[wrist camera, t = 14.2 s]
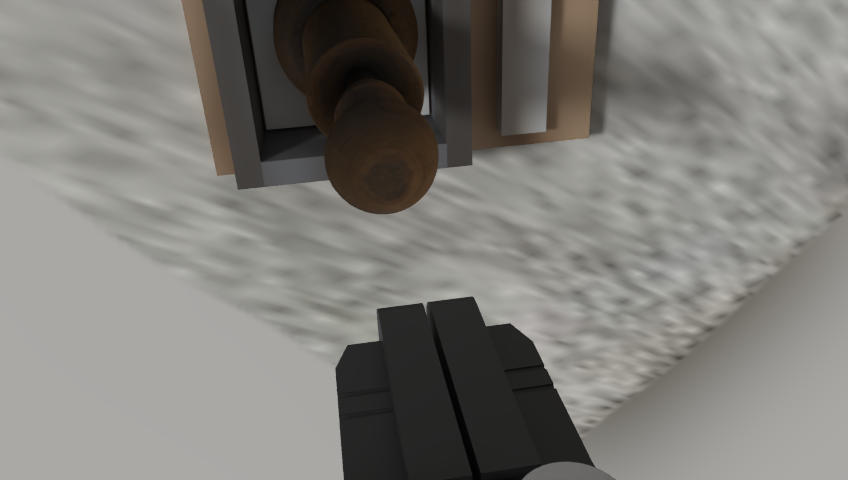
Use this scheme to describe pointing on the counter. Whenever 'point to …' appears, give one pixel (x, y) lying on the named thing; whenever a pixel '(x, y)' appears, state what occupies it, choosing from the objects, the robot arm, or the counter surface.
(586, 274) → the counter surface
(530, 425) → the robot arm
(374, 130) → the brown wooden chess pawn
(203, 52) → the socket board
